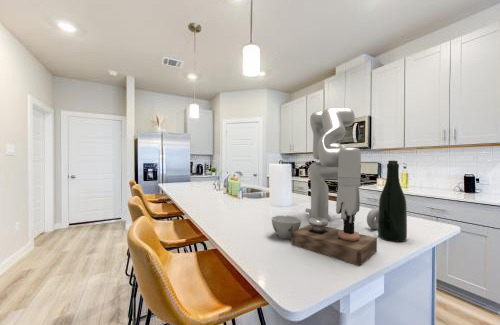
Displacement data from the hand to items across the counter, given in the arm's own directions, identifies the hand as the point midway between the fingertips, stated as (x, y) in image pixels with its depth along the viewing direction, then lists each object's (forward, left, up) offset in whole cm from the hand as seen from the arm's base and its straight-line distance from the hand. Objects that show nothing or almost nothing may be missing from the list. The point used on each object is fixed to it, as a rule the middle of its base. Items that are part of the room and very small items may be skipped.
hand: (348, 232), depth 83 cm
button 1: (-12, 0, -3) cm, 12 cm away
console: (-6, 0, -7) cm, 9 cm away
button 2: (0, 0, -5) cm, 6 cm away
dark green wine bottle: (+7, +28, -7) cm, 30 cm away
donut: (-2, +36, -7) cm, 37 cm away
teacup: (-27, -2, -7) cm, 28 cm away
